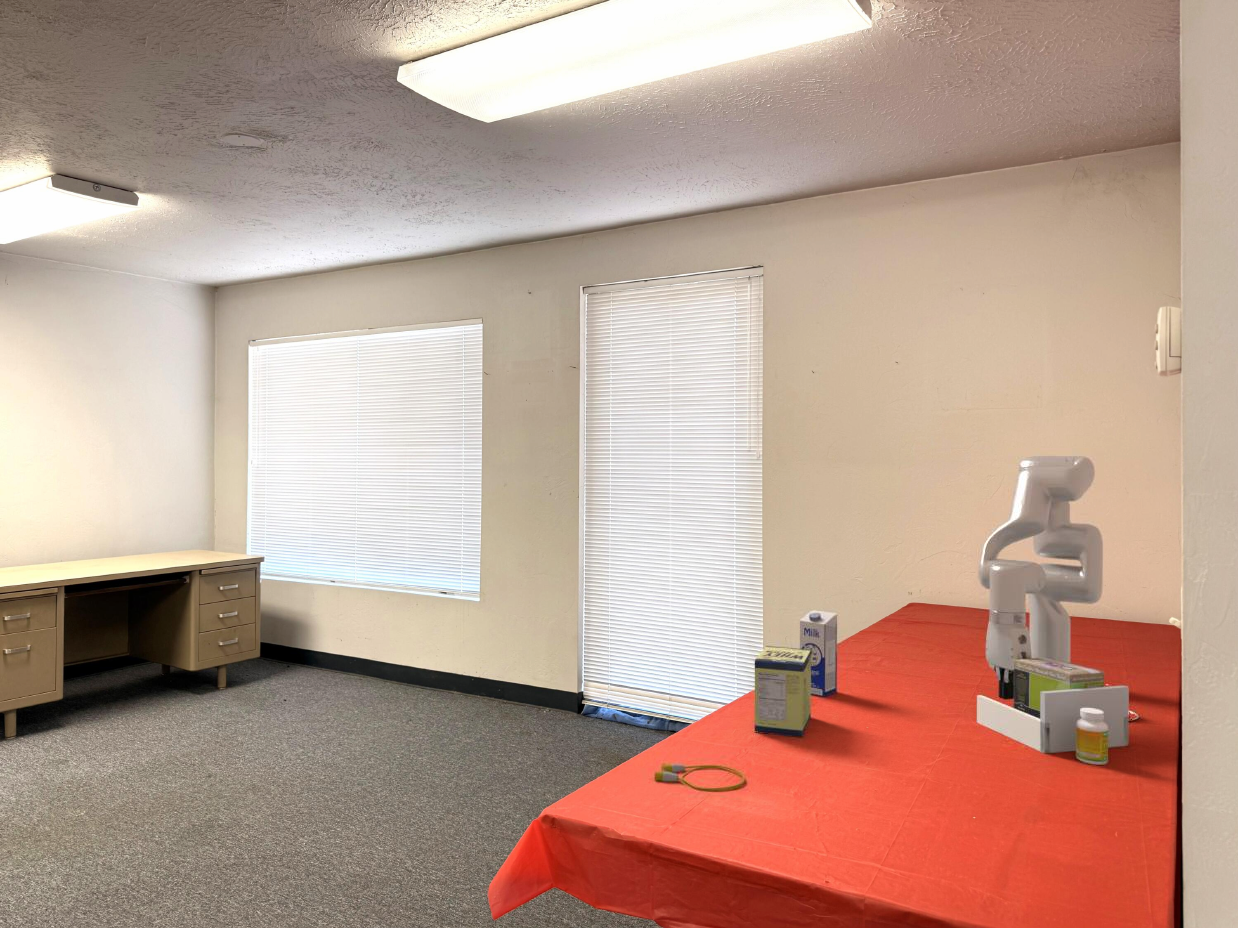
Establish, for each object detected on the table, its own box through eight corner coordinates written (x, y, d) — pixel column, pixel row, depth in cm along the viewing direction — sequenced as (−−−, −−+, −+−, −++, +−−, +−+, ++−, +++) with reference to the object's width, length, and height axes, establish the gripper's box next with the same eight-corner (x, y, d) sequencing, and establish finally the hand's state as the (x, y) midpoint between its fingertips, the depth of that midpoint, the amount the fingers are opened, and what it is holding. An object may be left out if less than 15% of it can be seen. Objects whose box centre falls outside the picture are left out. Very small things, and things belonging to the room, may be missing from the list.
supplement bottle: (1107, 767, 156) (1107, 716, 156) (1075, 761, 159) (1075, 711, 159) (1108, 758, 161) (1108, 709, 161) (1076, 753, 164) (1077, 704, 164)
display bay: (1053, 716, 188) (1054, 663, 188) (1128, 745, 168) (1128, 686, 168) (976, 722, 183) (977, 668, 183) (1044, 753, 163) (1044, 693, 163)
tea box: (1106, 741, 171) (1106, 670, 171) (1069, 747, 167) (1070, 674, 167) (1046, 720, 185) (1046, 654, 185) (1011, 725, 182) (1012, 658, 182)
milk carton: (837, 691, 207) (837, 612, 207) (824, 697, 202) (824, 616, 202) (812, 686, 212) (812, 609, 212) (798, 691, 207) (799, 612, 207)
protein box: (811, 717, 186) (811, 648, 186) (803, 738, 172) (803, 664, 172) (765, 712, 190) (765, 644, 190) (753, 732, 175) (753, 659, 175)
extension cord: (679, 761, 159) (679, 751, 159) (755, 779, 151) (755, 768, 151) (647, 781, 149) (647, 770, 149) (726, 801, 140) (726, 789, 140)
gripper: (1045, 623, 182) (1045, 706, 182) (998, 611, 197) (997, 688, 197) (1017, 625, 180) (1016, 708, 180) (971, 613, 195) (971, 690, 195)
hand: (1006, 697), depth 188 cm, fingers closed
